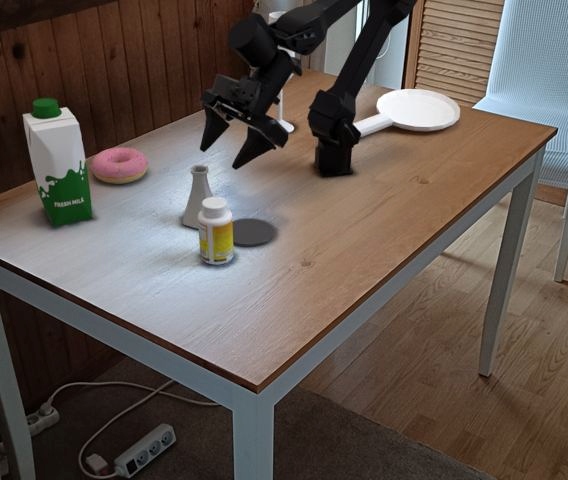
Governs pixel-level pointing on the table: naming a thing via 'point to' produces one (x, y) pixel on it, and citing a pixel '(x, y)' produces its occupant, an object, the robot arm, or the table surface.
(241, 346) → the table surface
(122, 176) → the doughnut
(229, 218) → the supplement bottle
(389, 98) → the frying pan
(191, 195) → the flask
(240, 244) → the slate coaster
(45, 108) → the milk carton
